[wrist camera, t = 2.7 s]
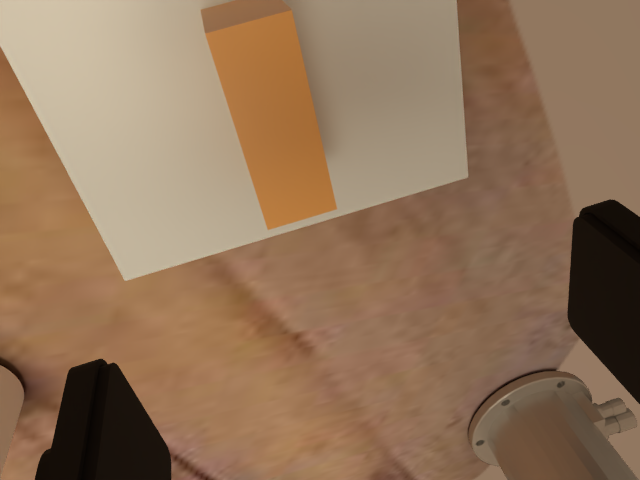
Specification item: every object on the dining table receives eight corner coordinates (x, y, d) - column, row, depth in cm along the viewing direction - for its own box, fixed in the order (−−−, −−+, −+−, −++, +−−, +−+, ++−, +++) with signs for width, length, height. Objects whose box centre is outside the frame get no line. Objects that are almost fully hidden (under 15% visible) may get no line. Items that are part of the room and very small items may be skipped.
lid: (426, -150, 23) (504, -163, 17) (452, 161, 31) (511, 219, 25) (-21, -33, 21) (-88, -7, 16) (128, 259, 29) (117, 341, 24)
